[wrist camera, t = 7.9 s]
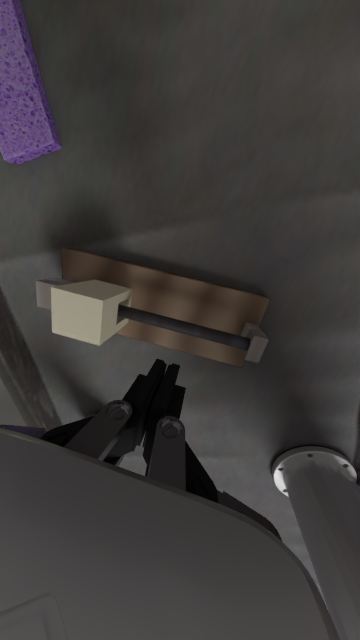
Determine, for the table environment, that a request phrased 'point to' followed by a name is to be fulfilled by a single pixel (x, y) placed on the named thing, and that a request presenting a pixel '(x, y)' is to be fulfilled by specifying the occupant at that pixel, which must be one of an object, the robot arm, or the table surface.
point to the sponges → (22, 92)
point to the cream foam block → (88, 310)
